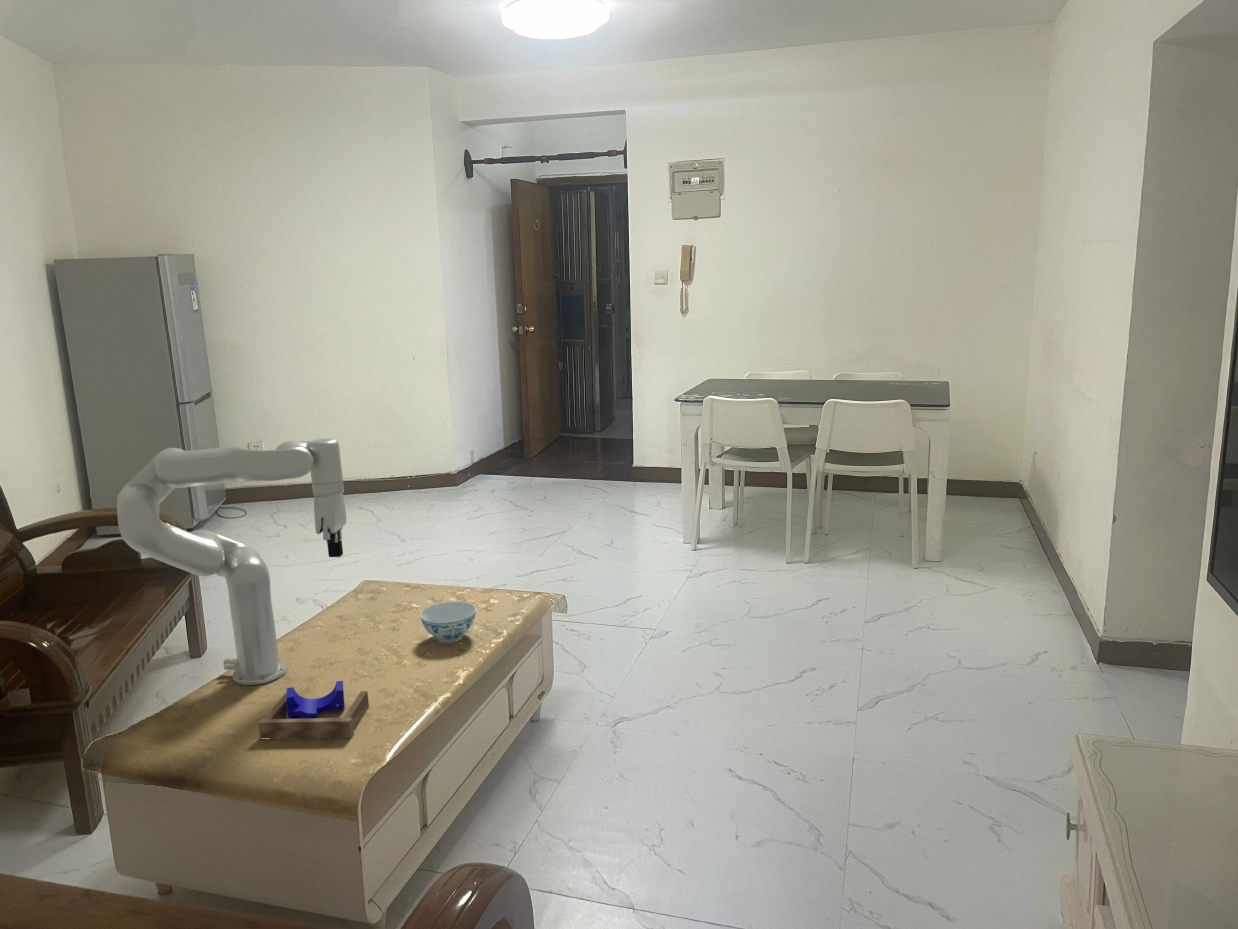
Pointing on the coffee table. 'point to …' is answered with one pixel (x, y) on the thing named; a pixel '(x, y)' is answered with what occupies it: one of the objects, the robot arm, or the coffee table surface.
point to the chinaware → (448, 620)
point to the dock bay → (312, 722)
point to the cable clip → (314, 703)
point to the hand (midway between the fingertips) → (336, 556)
